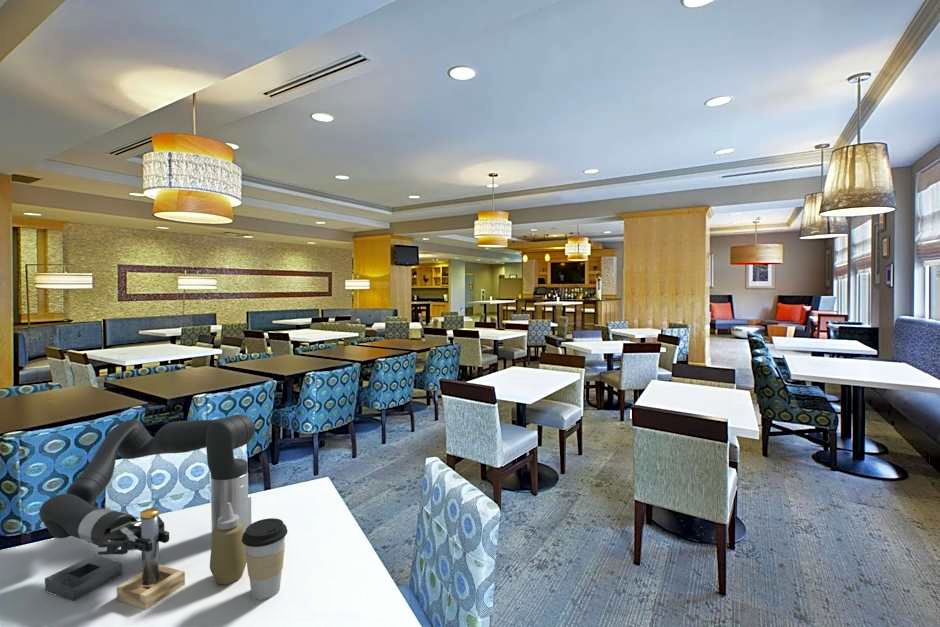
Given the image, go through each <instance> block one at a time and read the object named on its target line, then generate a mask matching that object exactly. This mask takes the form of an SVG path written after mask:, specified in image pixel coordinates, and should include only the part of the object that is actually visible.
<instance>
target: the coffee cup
mask: <svg viewBox="0 0 940 627" xmlns="http://www.w3.org/2000/svg"><path fill="white" fill-rule="evenodd" d="M287 527H288V526H287V525H286V524H285V523H284V521H283V520H282V519H280V518H276V517H275V518H274V517H272V518H263V519H260V520H259V519H258V520H256V521H254V522H251V524H250V525H249V526H248V527H247V528H246V531H245V532H244V534H243V536H242V543H243V544H244V545H245V547H246V550H245V554H246V561H247V563H246V568H247V576H248V577H249V585H250V593H251V596H252V598H253V599H255V600H257V599H258V600H260V601H262V600H263V599H264V600H267V598H268V599H270V598H272V597H273V596H275V595H276V593H277V592H278V591H279V592H280V589H281V583H282V582H281V581H282V572H283V568H284V560H285V559H284V557H285V548H286V546H285V545H286V543H285V540H286V539H285V538H286V536H287V535H288V528H287ZM279 592H278V593H279ZM278 593H277V594H278Z"/></svg>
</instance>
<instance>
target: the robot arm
mask: <svg viewBox="0 0 940 627" xmlns="http://www.w3.org/2000/svg"><path fill="white" fill-rule="evenodd" d="M253 421H254V420H252V418H250V417H248V416H247V415H244V414H239V413H238V414H233V415H229V416H226V417H223V418H217V419H197V420H195V419H194V420H179V421H172V422H169V423H166V424H164V425H163V426H161V427H160V429H159V430H158V431H157V432H156V433H155V435H154V436H152V435H151V434H150V433H149V431H148V430H147V429H146V427H145V426H144V424H143V423H142V422H141V421H140V420H139V419H137V418H131V419H127V420H124V421H123V422H121V423H119V424H117V425H116V426H114V427H113V428H112V429H111V430H110V431H109V432H108V434H107V435H106V436H105V438H104V440H102V442H101V444H100V445H99V447H98V449H97V451H96V452H95V454H94V455H93V458H91V461H89V463H88V464H87V466H86V467H85V468H84V470H82V472H81V473H80V474H79V475H78V477H76V478H75V480H74V481H73V482H71V484H70V486H68V489H67V490H66V492H65V493H62V494H56V495H53V496H52V497H49V498H48V499H47V500H46V501H44V502H43V503H42V505H41V506H40V508H39V512H38V516H39V517H40V520H41V521H42V522H43V525H44V526H45V527H46V529H47V530H48V532H49V533H50V535H51V536H52V537H54V538H55V539H66V538H69V537H74V538H75V539H79V540H82V541H83V540H84V541H85V542H87V543H88V544H91V545H94V546H97V554H98V556H107V555H108V556H110V555H112V556H113V555H114V556H116V555H119V556H120V555H126V554H127V553H128V552H129V551H132V552H133V551H139V552H140V551H141V552H142V551H146V552H149V551H151V550H152V541H150V540H147V539H143V538H141V520H137V519H136V518H135V517H134V516H133V515H132V514H129V513H126V512H122V511H117V510H114V509H110V508H107V509H106V508H102V507H97V506H95V505H96V502H97V499H98V498H99V496H100V495H101V494H102V492H104V490H105V489H106V488H107V486H108V485H109V483H110V482H111V480H112V478H113V476H114V472H115V466H116V460H117V457H118V456H117V455H119V457H121V458H123V459H124V460H135V459H139V458H143V457H149V456H153V455H164V454H182V453H189V452H194V451H198V450H201V449H206V458H207V459H206V462H207V466H208V469H209V471H210V507H211V508H210V509H211V511H210V512H211V519H210V520H211V536H212V535H213V531H214V530H215V529H216V528H217V520H218V519H219V518H220V517H222V516H223V511H224V507H225V503H228V502H230V503H231V506H232V509H233V513H234V514H237V515H239V523H241V524H243V526H244V532H245V531H246V528H247V527H248V526H249V525H250V524H252V496H251V495H250V494H249V471H248V470H249V469H248V468H249V464H248V462H247V460H245V459H243V458H238V457H237V458H236V457H235V455H234V450H236V449H238V448H242V447H244V446H245V445H247V444H249V442H250V441H251V440H252V439H253V438H254V436H255V432H256V425H255V424H254V422H253ZM158 522H159V543H164V544H167V543H168V542H170V531H167V530H165V522H164V521H163V520H162V518H161V517H160V516H159V515H158Z"/></svg>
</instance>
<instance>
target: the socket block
mask: <svg viewBox="0 0 940 627" xmlns="http://www.w3.org/2000/svg"><path fill="white" fill-rule="evenodd" d="M121 576H123V562H122V561H121V562H120V561H118V560H114V559H110V558H107V557H104V556H102V555H97V554H93V555H90V556H88V557H87V558H84V559H82V560H80V561H78V562H76V563H74V564H71V565H70V566H67V567H66V568H63V569H61V570H59V571H57V572H55V573H54V574H51V575H49V576H46V577H45V578H44V586H45V587H44V591H45V592H46V591H48V592H47V593H49V592H50V593H49V594H51V593H53V594H52V595H54V594H56V595H55V596H57V595H58V597H60V598H63V599H65V600H69V601H71V602H75V601H77V600H79V599H81V598H83V597H84V596H86V595H89V594H90V593H92V592H93V591H96V590H98V589H99V588H101V587H102V586H105V585H107V584H108V583H110V582H112V581H114V580H115V579H118V578H119V577H121Z"/></svg>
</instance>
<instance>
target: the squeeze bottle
mask: <svg viewBox="0 0 940 627" xmlns="http://www.w3.org/2000/svg"><path fill="white" fill-rule="evenodd" d="M243 534H244V526H243V524H241V523H239V515H237V514H234V513H233V509H232V506H231V503H230V502H228V503H225V507H224V511H223V516H222V517H220V518H219V519H218V520H217V528H216V529H215V530H214V531H213V535H212V534H211V546H210V556H209V557H210V558H209V570H210V572H211V574H212V577H213V579H214V581H215V583H217V584H219V585H228V584H231V583H233V582H234V583H235V582H236V581H238V580H239V579H240V578H242V576H243V574H244V571H245V568H246V567H247V561H246V554H245V550H246V547H245V545H244V544H243V543H242V536H243Z"/></svg>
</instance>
